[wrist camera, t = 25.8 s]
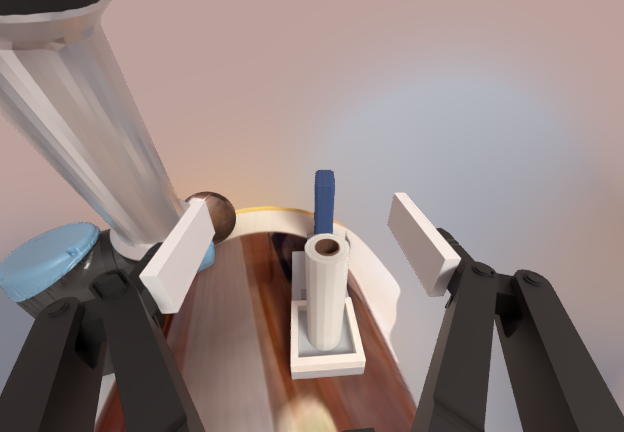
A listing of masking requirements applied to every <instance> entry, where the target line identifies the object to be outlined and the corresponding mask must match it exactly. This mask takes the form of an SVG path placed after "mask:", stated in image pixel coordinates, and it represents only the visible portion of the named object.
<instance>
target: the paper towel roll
mask: <svg viewBox="0 0 624 432" xmlns="http://www.w3.org/2000/svg"><path fill="white" fill-rule="evenodd" d="M350 245H351V242H350V240H349V238H348V236H347V230H346V237H345V239H344V238H342V237H340V236H338V235H335V234H329V233H326V234H319V235H316V236H313V237H312V238H310V239H309V240H308V241H307V243H306V245H305V267H306V294H307V321H308V339H309V340H310V342H311V344H312V345H313V346H314V347H315V348H316V349H319V350H322V351H328V350H331V349H333V348H335V347H336V346H337V345H338V343H339V342H340V338H341V330H342V321H343V312H344V302H345V293H346V284H347V275H348V266H349V256H350Z"/></svg>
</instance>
